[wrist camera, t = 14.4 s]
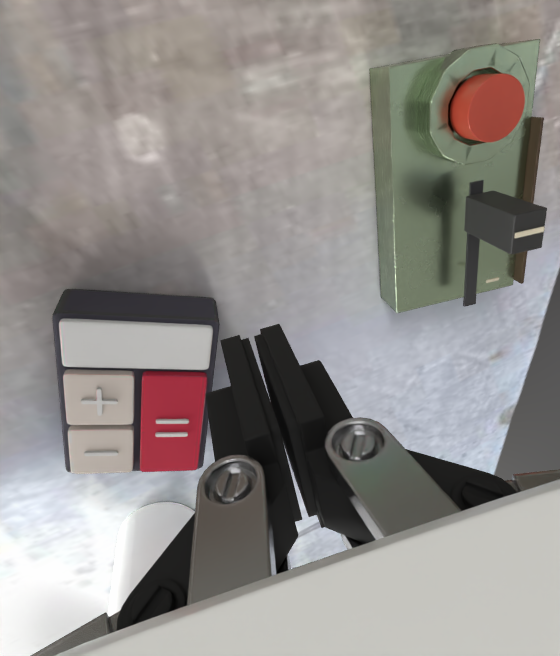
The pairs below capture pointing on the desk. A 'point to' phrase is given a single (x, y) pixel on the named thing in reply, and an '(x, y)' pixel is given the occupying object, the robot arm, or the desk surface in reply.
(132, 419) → the calculator
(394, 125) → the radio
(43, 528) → the desk surface
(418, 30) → the desk surface
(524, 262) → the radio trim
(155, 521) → the mug
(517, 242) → the slider
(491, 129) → the power button
